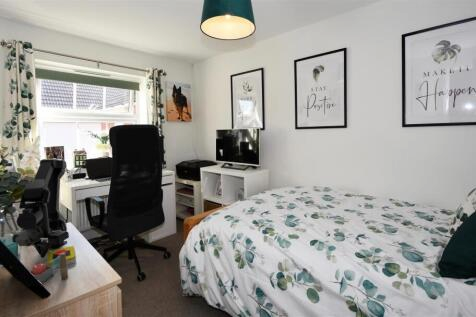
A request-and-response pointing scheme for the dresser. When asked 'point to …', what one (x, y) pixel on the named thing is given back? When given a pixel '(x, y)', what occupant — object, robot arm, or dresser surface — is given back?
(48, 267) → the popper housing
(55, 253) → the emergency button
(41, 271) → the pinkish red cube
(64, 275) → the finish flag
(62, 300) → the dresser surface
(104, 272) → the dresser surface
